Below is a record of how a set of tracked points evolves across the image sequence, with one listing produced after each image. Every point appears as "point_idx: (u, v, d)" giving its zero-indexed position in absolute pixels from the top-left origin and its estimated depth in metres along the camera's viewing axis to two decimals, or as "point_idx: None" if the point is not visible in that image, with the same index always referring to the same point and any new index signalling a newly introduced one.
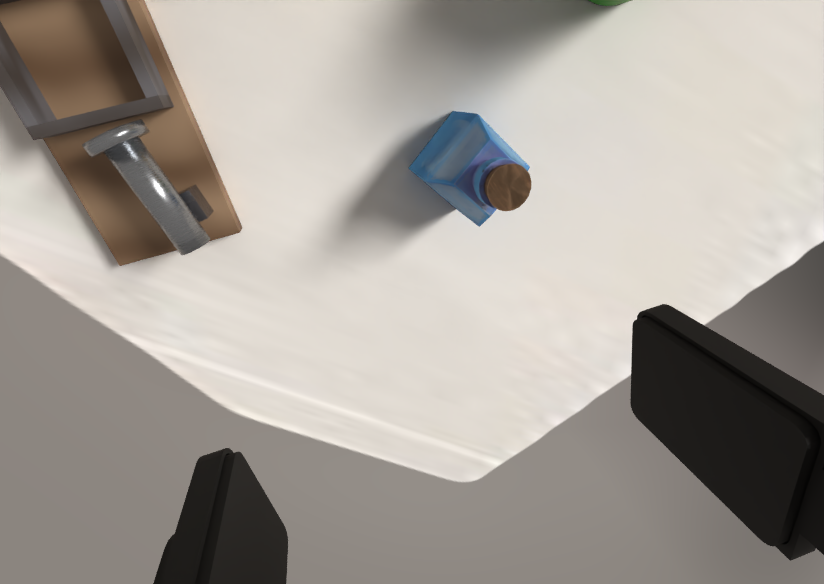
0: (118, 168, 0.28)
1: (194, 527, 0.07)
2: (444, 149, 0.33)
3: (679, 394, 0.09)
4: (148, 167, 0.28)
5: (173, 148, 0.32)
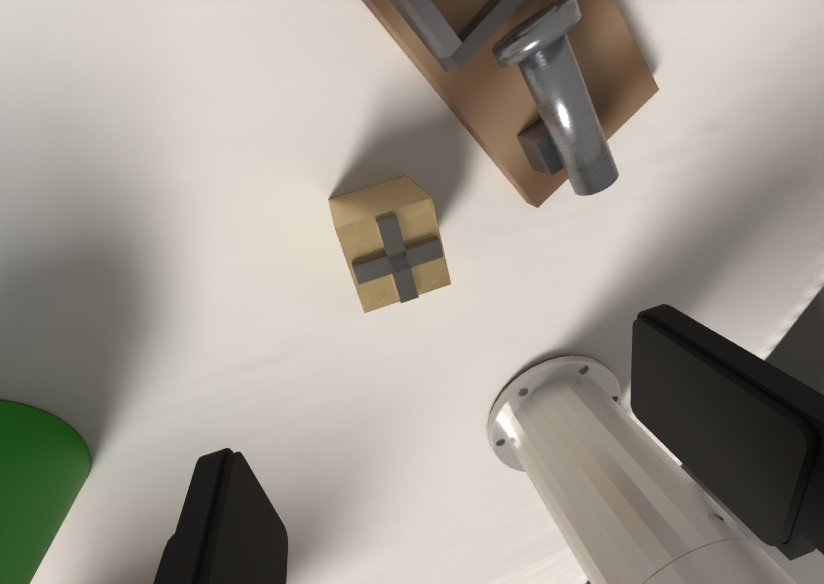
0: None
1: (194, 527, 0.07)
2: None
3: (679, 394, 0.09)
4: None
5: None
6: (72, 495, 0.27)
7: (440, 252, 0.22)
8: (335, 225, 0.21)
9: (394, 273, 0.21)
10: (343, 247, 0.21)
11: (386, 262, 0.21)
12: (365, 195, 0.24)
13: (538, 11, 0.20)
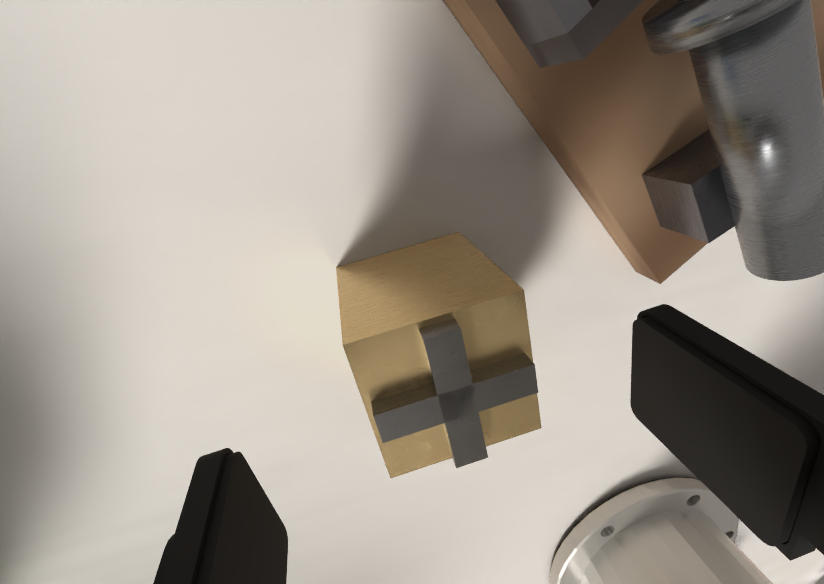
0: None
1: (194, 527, 0.07)
2: None
3: (679, 394, 0.09)
4: None
5: None
6: None
7: (533, 385, 0.12)
8: (344, 337, 0.11)
9: (448, 422, 0.12)
10: (357, 377, 0.11)
11: (435, 404, 0.11)
12: (396, 267, 0.15)
13: None
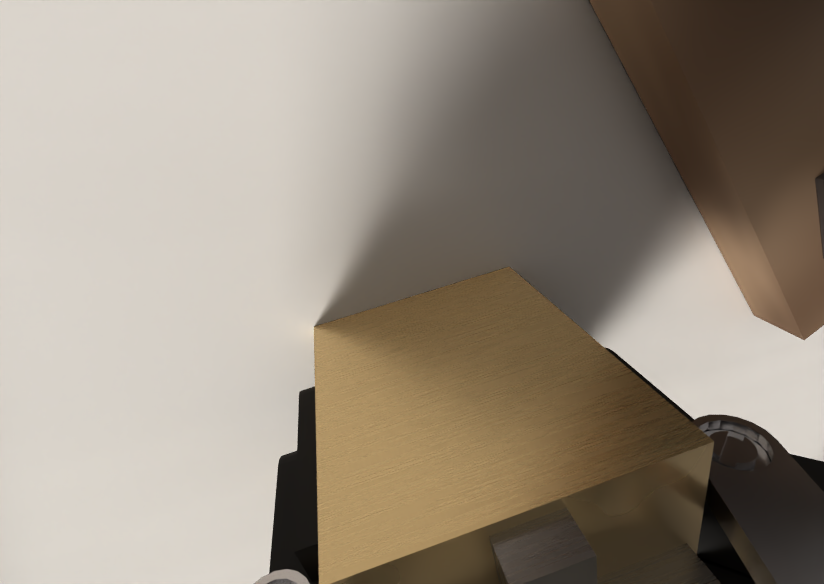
0: None
1: (314, 439, 0.08)
2: None
3: None
4: None
5: None
6: None
7: None
8: (323, 554, 0.05)
9: None
10: None
11: None
12: (416, 337, 0.09)
13: None
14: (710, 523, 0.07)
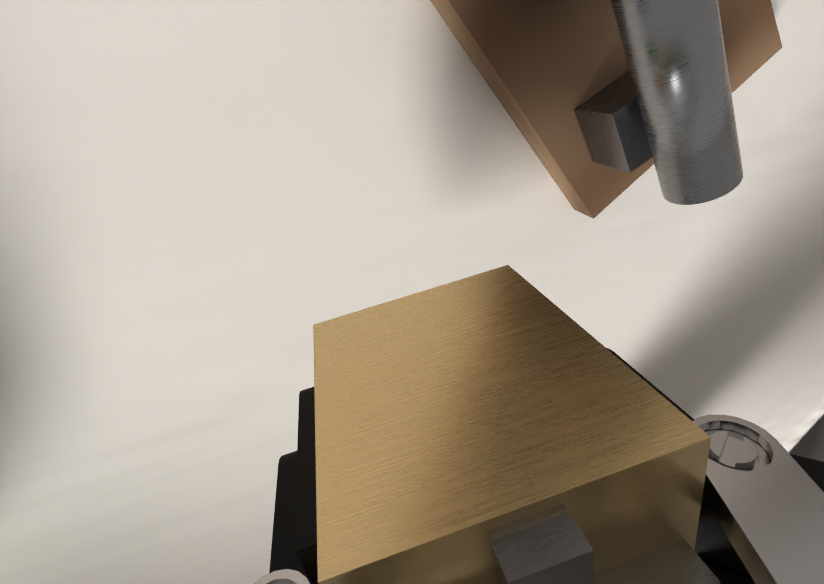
0: None
1: (314, 439, 0.08)
2: None
3: None
4: None
5: None
6: None
7: None
8: (322, 550, 0.05)
9: None
10: None
11: None
12: (415, 335, 0.09)
13: None
14: (710, 522, 0.07)
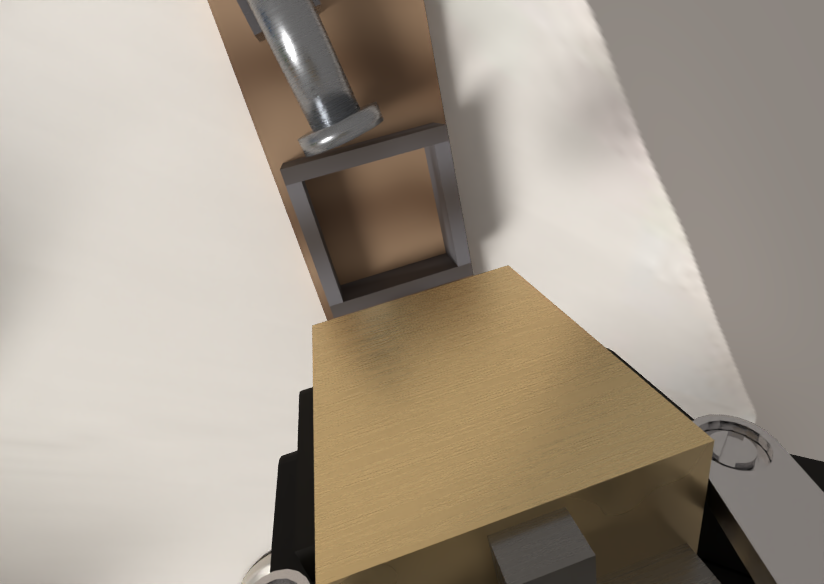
0: (340, 84, 0.18)
1: None
2: None
3: None
4: (297, 84, 0.18)
5: (289, 104, 0.22)
6: None
7: None
8: (320, 554, 0.05)
9: None
10: None
11: None
12: (415, 336, 0.09)
13: None
14: (710, 523, 0.07)
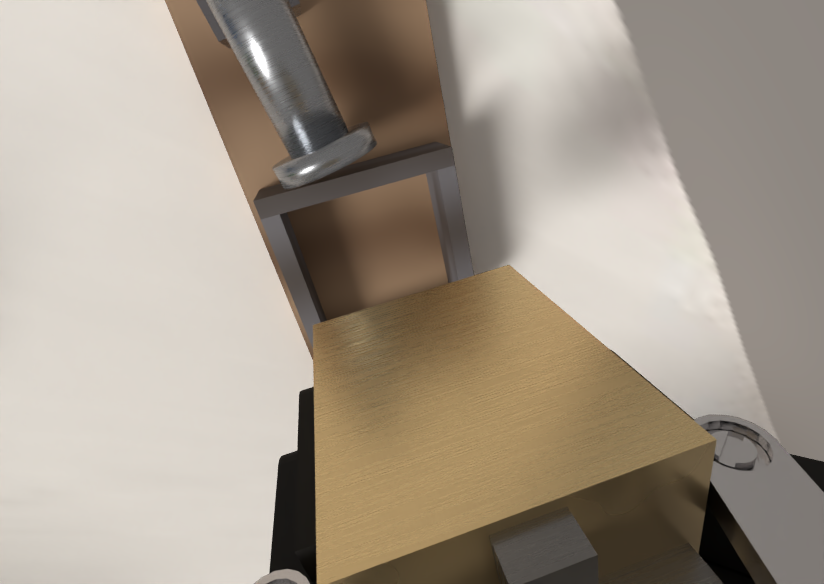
0: (323, 103, 0.14)
1: (314, 439, 0.08)
2: None
3: None
4: (269, 102, 0.14)
5: (266, 121, 0.18)
6: None
7: None
8: (321, 554, 0.05)
9: None
10: None
11: None
12: (415, 336, 0.09)
13: None
14: (710, 523, 0.07)
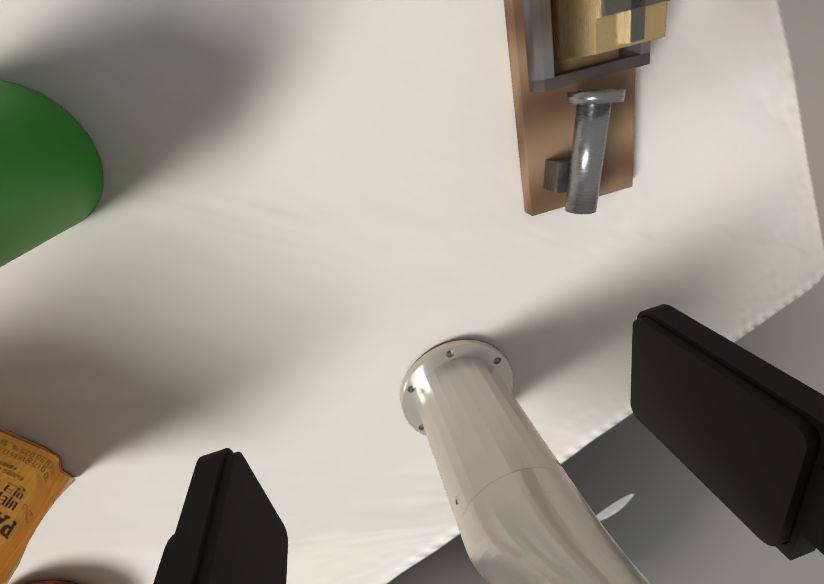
0: None
1: (194, 527, 0.07)
2: None
3: (679, 394, 0.09)
4: None
5: None
6: (72, 222, 0.29)
7: None
8: None
9: (632, 9, 0.26)
10: None
11: None
12: None
13: None
14: None
